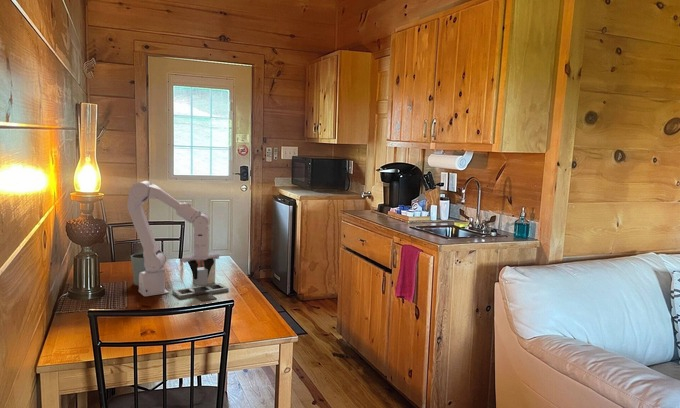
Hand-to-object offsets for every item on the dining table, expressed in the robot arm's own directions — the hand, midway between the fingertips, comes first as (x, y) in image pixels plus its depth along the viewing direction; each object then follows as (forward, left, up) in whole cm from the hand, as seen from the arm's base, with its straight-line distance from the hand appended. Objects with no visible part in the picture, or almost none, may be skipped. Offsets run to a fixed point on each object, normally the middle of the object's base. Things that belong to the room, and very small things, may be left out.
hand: (200, 278), depth 199 cm
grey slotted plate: (0, 0, -6) cm, 6 cm away
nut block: (0, 0, -2) cm, 2 cm away
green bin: (-15, +24, -6) cm, 29 cm away
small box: (+7, +14, -6) cm, 17 cm away
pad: (-1, -8, -6) cm, 10 cm away
